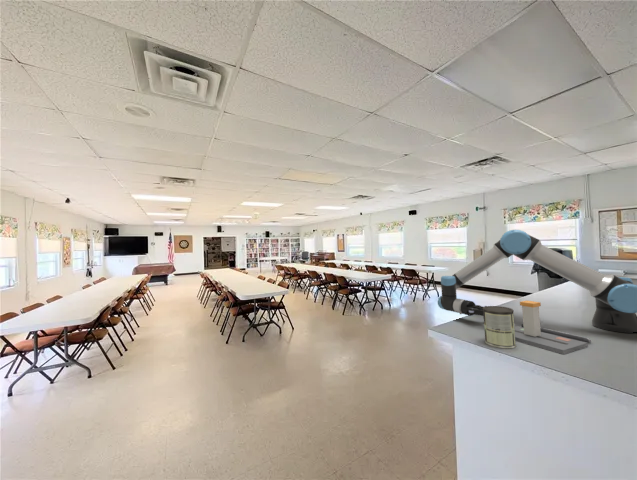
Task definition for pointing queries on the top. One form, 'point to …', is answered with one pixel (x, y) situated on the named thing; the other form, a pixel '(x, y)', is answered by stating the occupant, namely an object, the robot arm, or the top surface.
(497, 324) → the coffee can
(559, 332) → the grey flat bar
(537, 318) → the breaker handle
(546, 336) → the switch panel
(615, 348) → the top surface
